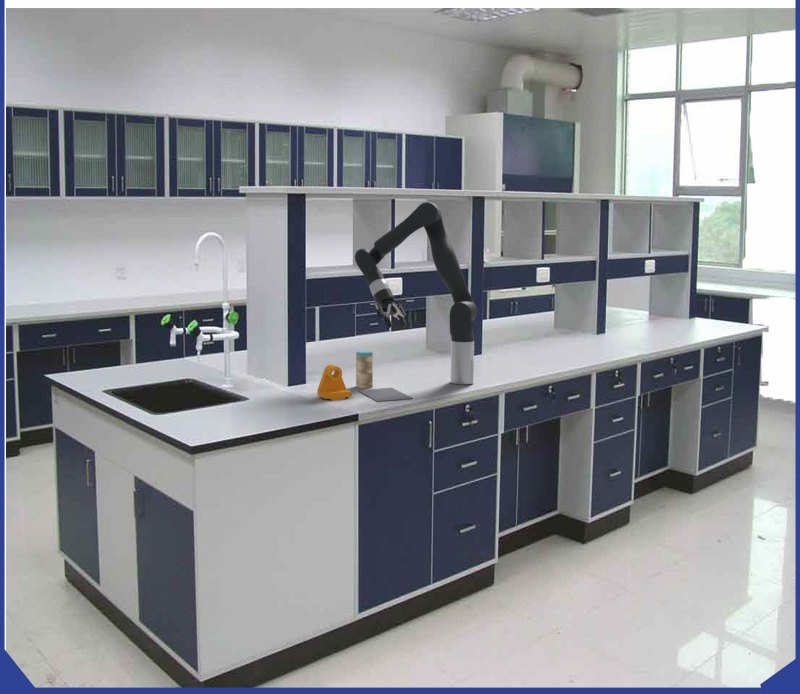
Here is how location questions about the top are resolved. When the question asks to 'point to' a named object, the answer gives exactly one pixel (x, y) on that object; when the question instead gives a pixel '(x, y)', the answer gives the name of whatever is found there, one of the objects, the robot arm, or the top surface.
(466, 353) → the robot arm
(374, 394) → the rubber mat
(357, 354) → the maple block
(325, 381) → the bracket
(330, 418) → the top surface
